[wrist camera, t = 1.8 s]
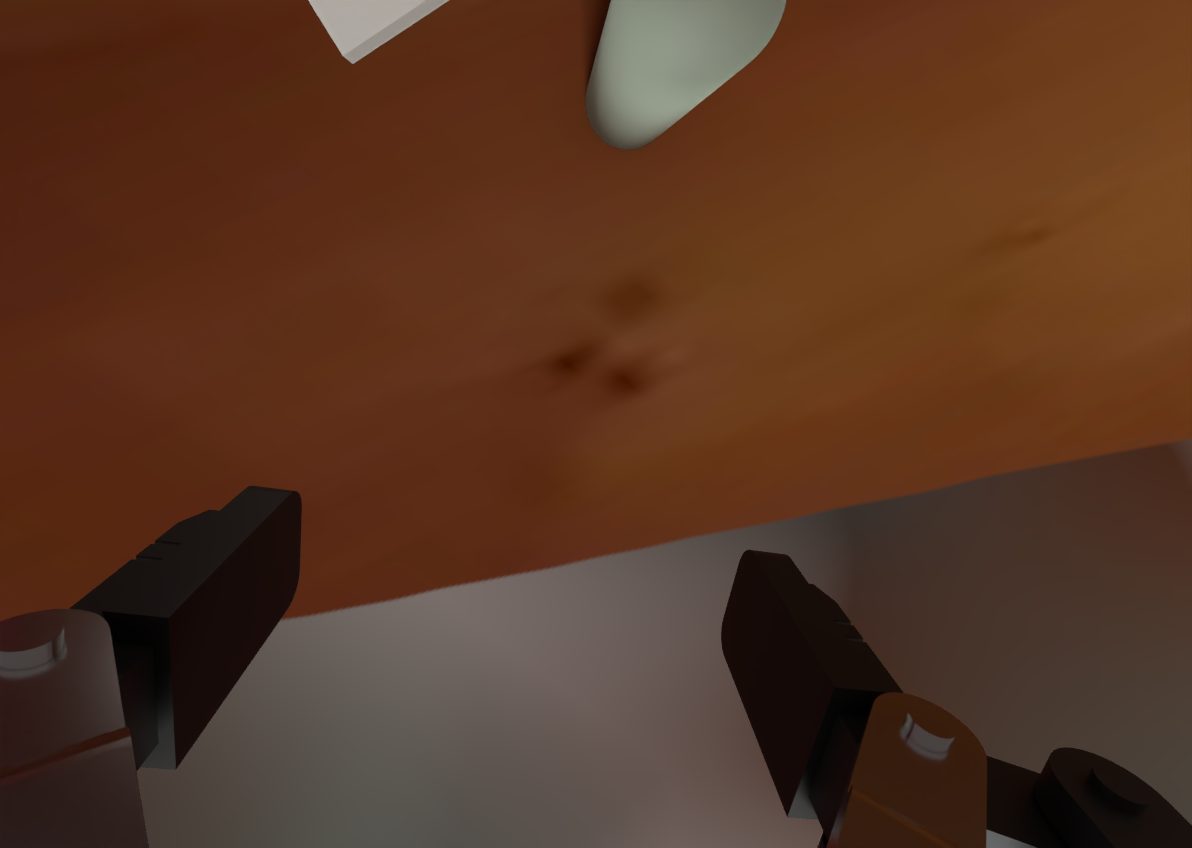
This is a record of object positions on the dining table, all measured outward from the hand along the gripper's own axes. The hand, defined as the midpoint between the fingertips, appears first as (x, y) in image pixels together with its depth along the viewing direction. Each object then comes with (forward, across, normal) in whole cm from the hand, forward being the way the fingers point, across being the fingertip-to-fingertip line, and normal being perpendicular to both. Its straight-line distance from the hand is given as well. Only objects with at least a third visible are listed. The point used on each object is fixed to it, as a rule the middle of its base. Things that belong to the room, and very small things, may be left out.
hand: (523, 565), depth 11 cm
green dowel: (+24, -2, -12) cm, 27 cm away
